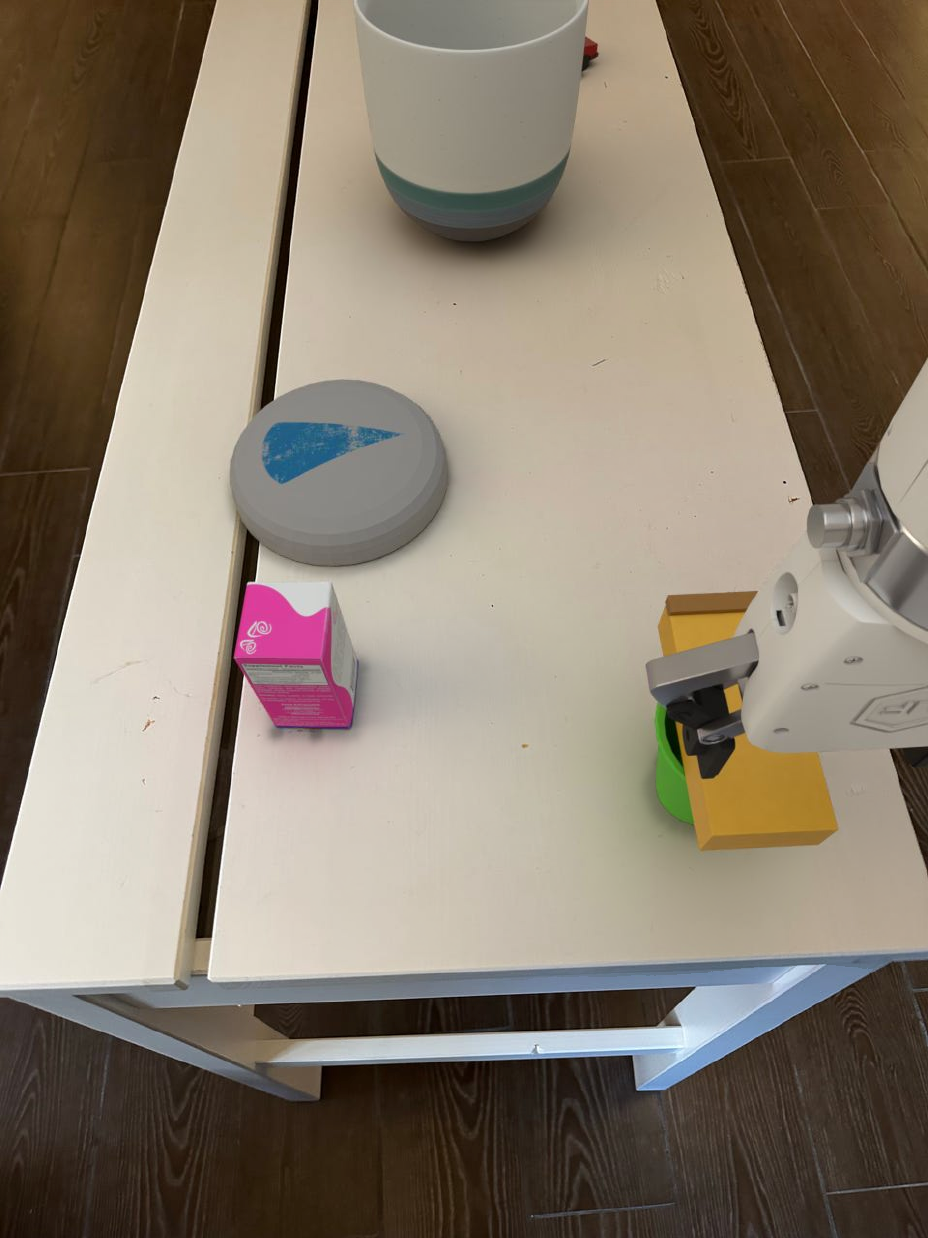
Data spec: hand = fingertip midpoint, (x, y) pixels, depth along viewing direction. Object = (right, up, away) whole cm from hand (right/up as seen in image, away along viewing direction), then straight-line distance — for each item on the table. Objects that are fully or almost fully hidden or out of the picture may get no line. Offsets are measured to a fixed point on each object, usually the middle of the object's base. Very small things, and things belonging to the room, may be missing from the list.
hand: (803, 743), depth 40 cm
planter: (-15, +49, +51) cm, 73 cm away
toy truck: (-5, +74, +65) cm, 99 cm away
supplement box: (-27, 0, +23) cm, 35 cm away
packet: (-1, 0, +9) cm, 9 cm away
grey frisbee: (-27, +18, +33) cm, 46 cm away
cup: (0, -6, +19) cm, 20 cm away
